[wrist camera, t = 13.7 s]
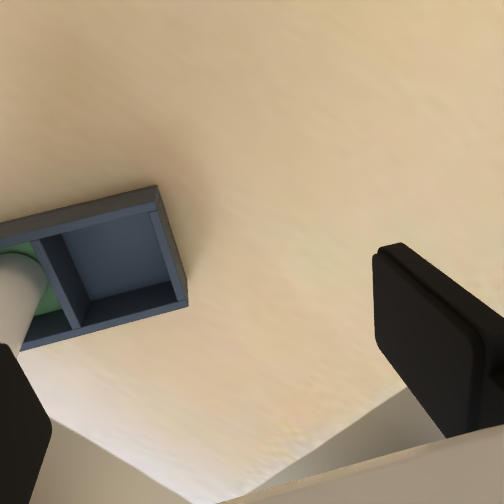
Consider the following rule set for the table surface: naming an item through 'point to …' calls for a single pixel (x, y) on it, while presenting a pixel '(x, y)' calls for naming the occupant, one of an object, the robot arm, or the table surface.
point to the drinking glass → (19, 297)
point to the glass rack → (99, 264)
